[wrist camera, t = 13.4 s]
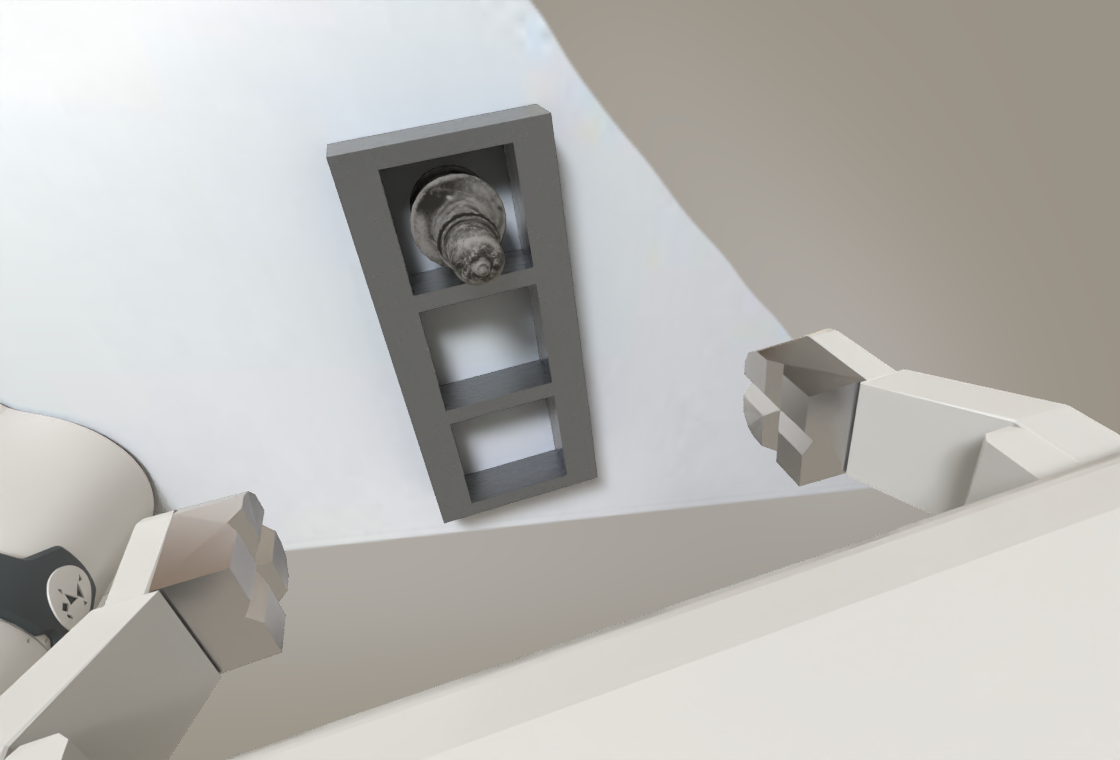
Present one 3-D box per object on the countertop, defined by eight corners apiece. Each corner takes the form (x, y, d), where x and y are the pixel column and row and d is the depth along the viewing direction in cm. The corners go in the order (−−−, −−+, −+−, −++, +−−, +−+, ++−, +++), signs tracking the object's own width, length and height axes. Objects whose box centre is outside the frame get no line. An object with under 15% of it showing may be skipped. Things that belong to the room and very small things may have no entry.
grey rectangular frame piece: (438, 494, 54) (444, 523, 51) (327, 144, 38) (326, 157, 35) (584, 452, 56) (597, 477, 53) (536, 103, 40) (551, 112, 38)
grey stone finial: (489, 252, 45) (531, 328, 35) (402, 245, 43) (421, 323, 33) (500, 166, 42) (549, 221, 32) (408, 154, 40) (431, 209, 30)
